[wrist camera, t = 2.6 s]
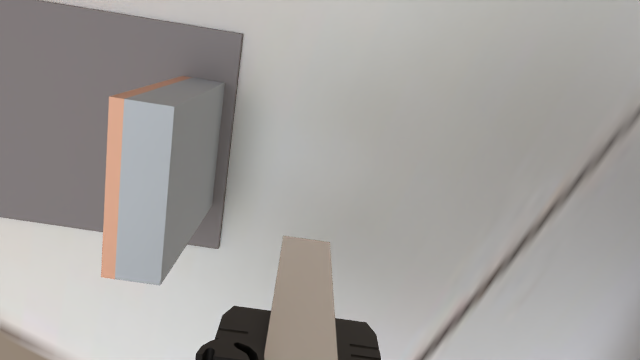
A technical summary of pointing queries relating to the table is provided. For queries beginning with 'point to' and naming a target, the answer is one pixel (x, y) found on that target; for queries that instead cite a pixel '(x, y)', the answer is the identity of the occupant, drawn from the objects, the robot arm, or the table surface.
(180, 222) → the slab
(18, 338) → the table surface
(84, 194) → the mat
